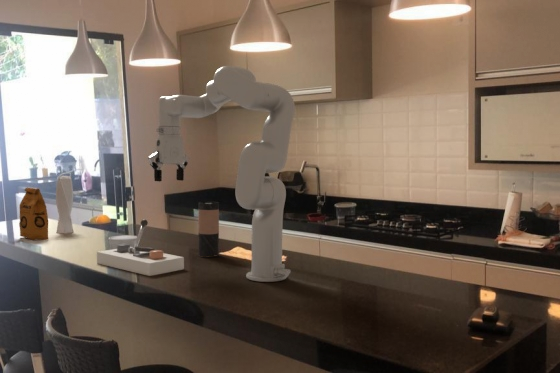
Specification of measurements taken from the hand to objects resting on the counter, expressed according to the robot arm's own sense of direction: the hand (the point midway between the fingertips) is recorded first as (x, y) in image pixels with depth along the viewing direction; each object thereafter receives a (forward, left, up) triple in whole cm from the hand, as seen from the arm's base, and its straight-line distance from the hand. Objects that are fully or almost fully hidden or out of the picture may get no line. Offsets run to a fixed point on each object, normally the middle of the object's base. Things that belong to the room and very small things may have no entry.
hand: (169, 180), depth 202 cm
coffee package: (+81, +8, -29) cm, 86 cm away
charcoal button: (+9, +13, -25) cm, 30 cm away
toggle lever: (+3, +13, -24) cm, 27 cm away
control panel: (0, +13, -29) cm, 31 cm away
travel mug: (-3, -16, -29) cm, 33 cm away
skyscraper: (+87, -10, -29) cm, 92 cm away
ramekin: (+29, -1, -29) cm, 41 cm away
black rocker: (-3, +13, -23) cm, 26 cm away
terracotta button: (-9, +13, -25) cm, 30 cm away
